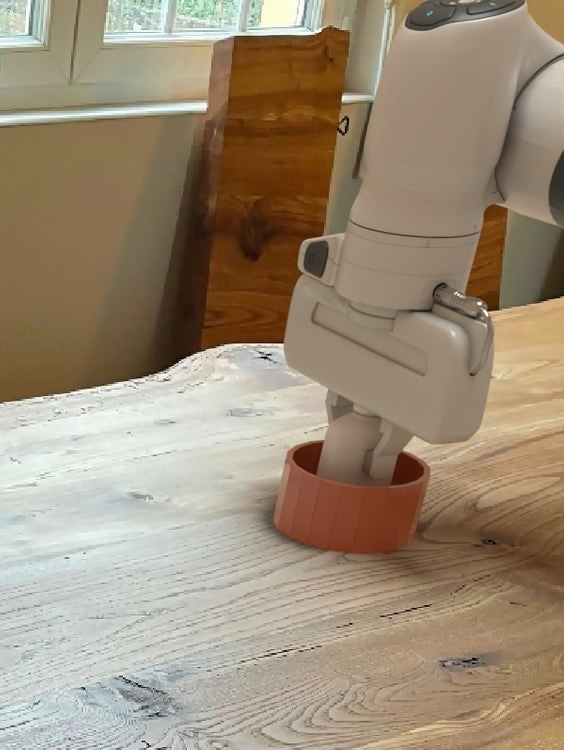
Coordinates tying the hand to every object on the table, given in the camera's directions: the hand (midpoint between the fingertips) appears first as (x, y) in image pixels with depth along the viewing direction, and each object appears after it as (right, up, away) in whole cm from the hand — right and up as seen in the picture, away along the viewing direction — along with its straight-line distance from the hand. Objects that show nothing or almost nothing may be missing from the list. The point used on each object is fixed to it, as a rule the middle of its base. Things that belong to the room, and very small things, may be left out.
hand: (357, 464), depth 112 cm
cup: (0, -5, +4) cm, 6 cm away
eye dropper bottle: (0, -4, +3) cm, 5 cm away
